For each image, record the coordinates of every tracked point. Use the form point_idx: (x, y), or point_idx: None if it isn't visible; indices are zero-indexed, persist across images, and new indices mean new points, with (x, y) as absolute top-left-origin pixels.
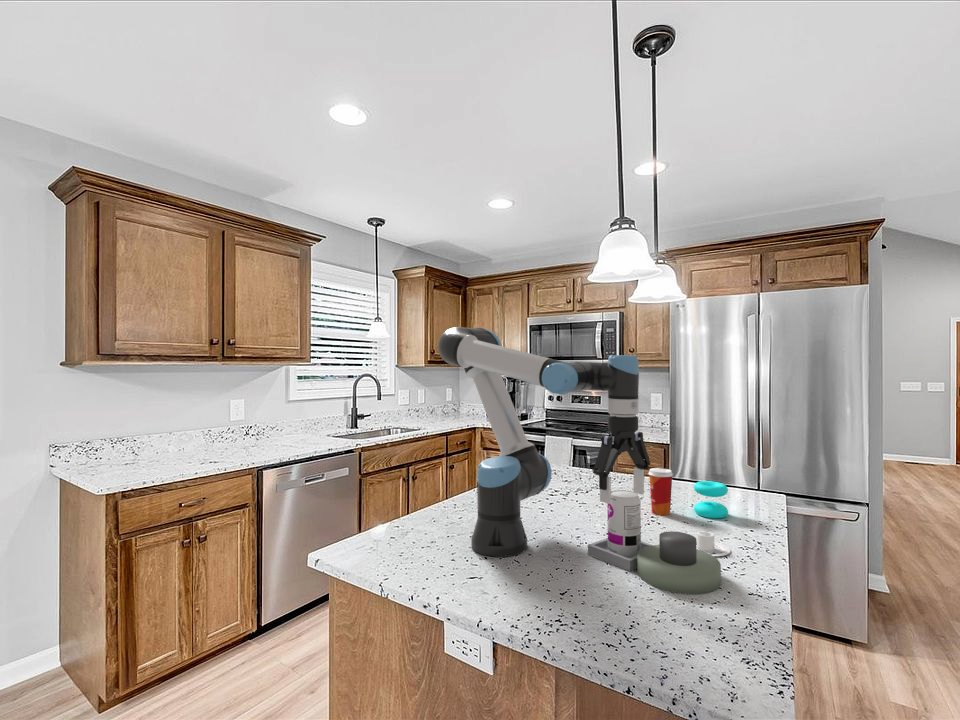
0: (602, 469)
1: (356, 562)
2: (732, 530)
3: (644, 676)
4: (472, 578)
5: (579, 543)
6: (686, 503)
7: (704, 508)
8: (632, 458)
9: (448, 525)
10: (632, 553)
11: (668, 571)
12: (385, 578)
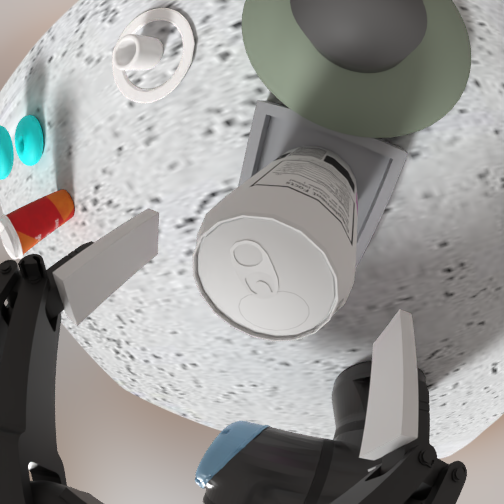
0: (454, 496)
1: (459, 441)
2: (59, 77)
3: None
4: (496, 369)
5: None
6: (29, 187)
7: (31, 143)
8: (51, 377)
9: (327, 434)
10: (342, 160)
11: (462, 42)
12: (494, 416)
